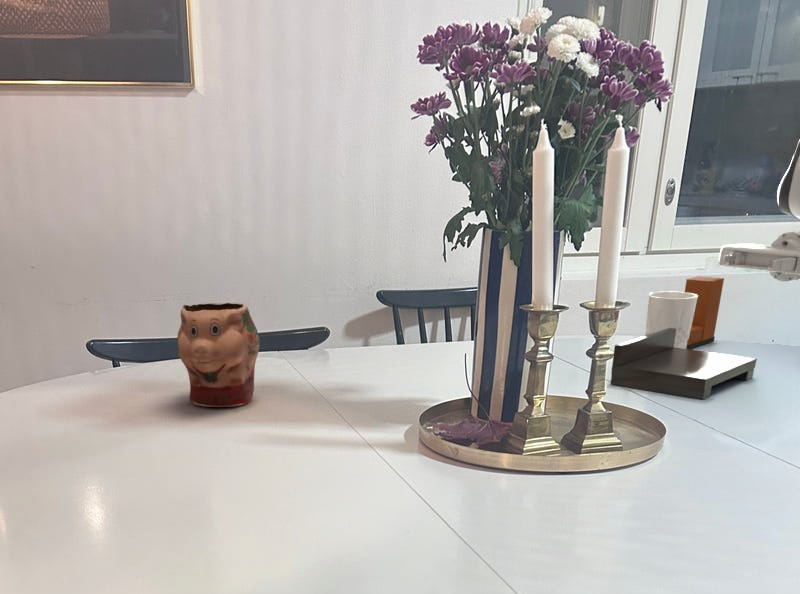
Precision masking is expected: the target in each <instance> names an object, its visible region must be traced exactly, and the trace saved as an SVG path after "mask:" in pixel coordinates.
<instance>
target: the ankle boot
mask: <svg viewBox="0 0 800 594" xmlns="http://www.w3.org/2000/svg"><path fill="white" fill-rule="evenodd" d="M685 280H686V281H685V287H684V292H687V293H693V294H696V295H698V298H697V303H696V307H695V312H694V317H693V322H692V327H691V330H690V335H689V339H688V341H687V347H686V349H690V350H694V349H695V348H699V347H702V346H704V345H707V344H710V343H713V342H715V338H716V337H715V333H716V327H717V322H718V315H719V309H720V305H721V304H720V303H721V298H722V292H723V286H724V281H725V278H724V277H714V276H702V275H700V276H699V275H697V276H695V277H691V278H686V279H685Z"/></svg>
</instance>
